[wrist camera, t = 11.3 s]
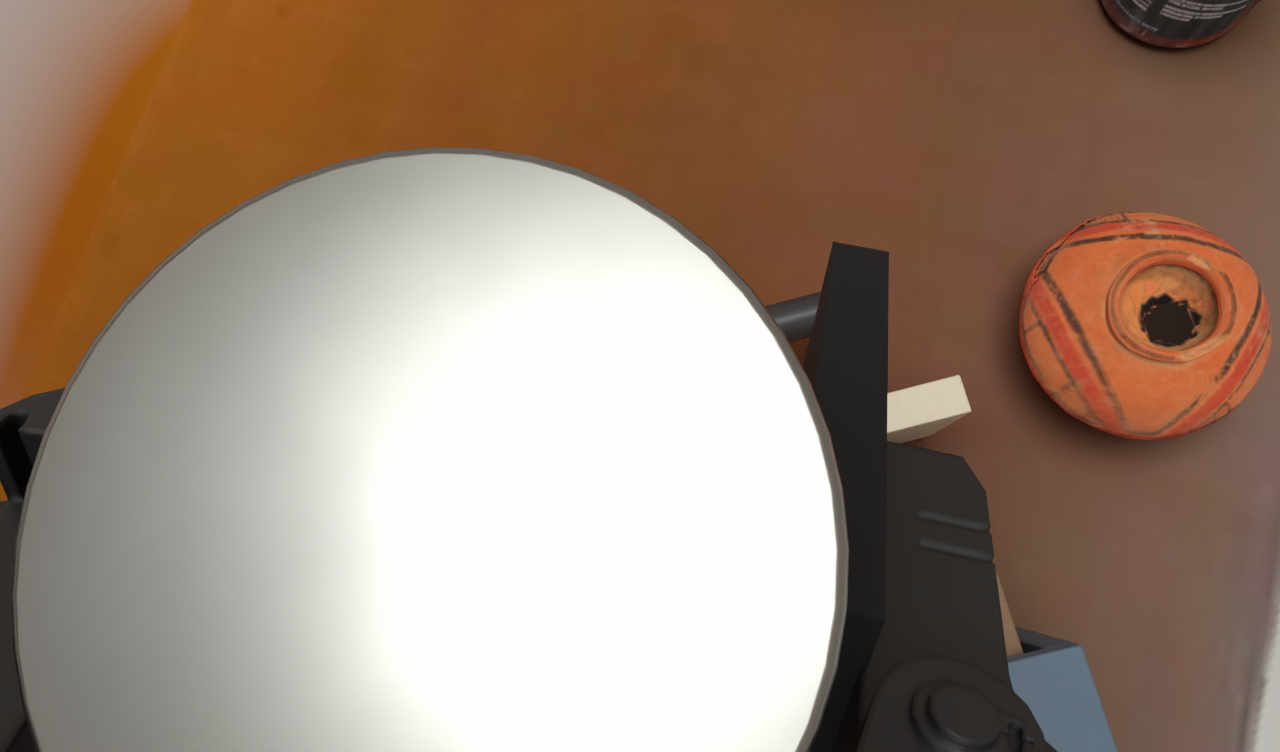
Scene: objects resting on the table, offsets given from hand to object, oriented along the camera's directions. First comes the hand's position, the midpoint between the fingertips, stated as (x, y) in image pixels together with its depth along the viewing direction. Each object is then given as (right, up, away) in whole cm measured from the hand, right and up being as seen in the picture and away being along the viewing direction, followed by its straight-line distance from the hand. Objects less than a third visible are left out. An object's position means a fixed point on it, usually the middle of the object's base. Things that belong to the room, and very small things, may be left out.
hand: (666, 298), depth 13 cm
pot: (+17, 0, +21) cm, 27 cm away
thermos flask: (0, -5, +5) cm, 7 cm away
